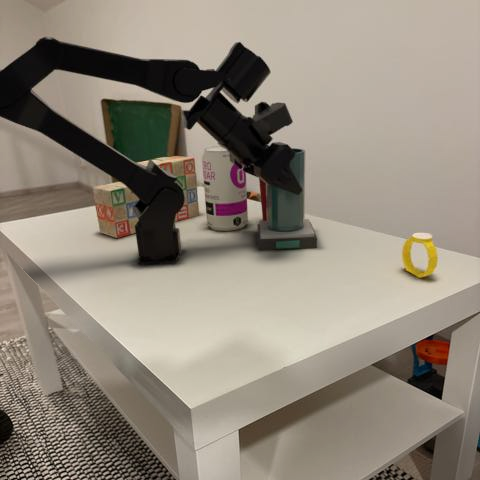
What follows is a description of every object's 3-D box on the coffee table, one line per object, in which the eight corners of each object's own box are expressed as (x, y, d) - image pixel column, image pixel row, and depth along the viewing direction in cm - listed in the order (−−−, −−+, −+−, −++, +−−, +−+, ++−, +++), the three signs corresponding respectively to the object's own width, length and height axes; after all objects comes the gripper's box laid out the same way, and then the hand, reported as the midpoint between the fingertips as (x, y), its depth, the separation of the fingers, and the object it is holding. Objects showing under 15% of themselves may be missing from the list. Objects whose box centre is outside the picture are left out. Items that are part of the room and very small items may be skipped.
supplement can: (255, 222, 104) (252, 145, 97) (233, 233, 98) (228, 152, 91) (222, 218, 108) (217, 144, 101) (199, 229, 102) (192, 150, 95)
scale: (258, 251, 88) (258, 237, 87) (257, 233, 97) (257, 220, 96) (317, 248, 87) (317, 234, 86) (310, 231, 97) (310, 218, 96)
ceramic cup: (291, 234, 87) (291, 155, 81) (259, 228, 91) (257, 152, 85) (311, 224, 92) (312, 149, 86) (280, 219, 95) (279, 147, 90)
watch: (396, 269, 77) (399, 231, 74) (411, 266, 78) (415, 228, 75) (423, 282, 72) (428, 242, 69) (439, 279, 73) (444, 239, 70)
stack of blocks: (117, 239, 98) (106, 173, 93) (99, 233, 102) (88, 170, 97) (200, 214, 111) (195, 156, 106) (181, 210, 116) (175, 154, 110)
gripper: (282, 85, 72) (349, 159, 79) (243, 84, 88) (302, 145, 96) (231, 149, 73) (302, 215, 81) (202, 136, 90) (263, 192, 97)
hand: (292, 188), depth 89 cm, fingers closed on ceramic cup, 7 cm apart
